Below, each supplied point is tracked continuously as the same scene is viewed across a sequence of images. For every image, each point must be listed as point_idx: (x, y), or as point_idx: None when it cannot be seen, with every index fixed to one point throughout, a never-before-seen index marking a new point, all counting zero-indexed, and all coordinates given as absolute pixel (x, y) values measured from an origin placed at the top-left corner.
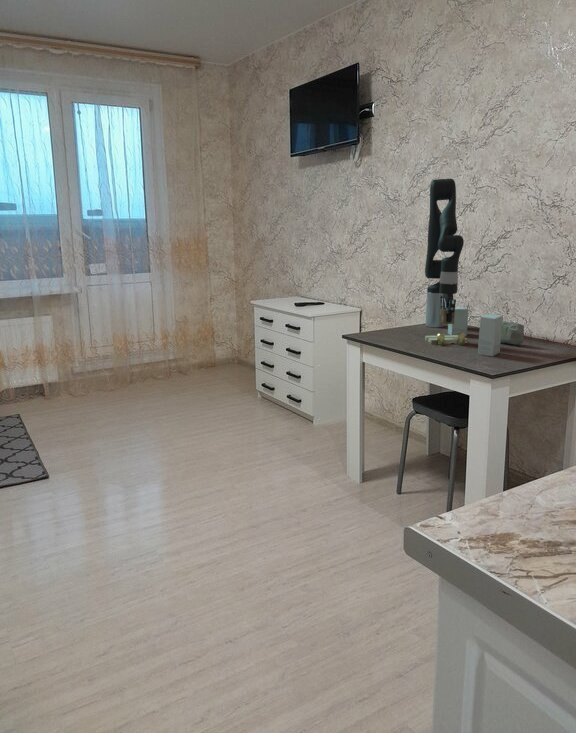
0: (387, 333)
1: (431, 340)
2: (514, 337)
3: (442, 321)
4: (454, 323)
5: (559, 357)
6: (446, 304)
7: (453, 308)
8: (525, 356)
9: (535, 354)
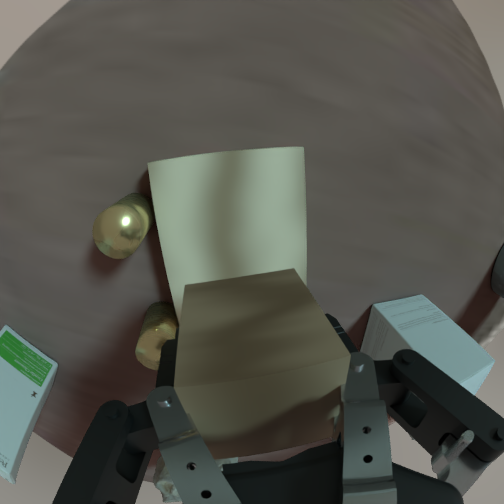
0: (443, 37)
1: (150, 162)
2: (160, 462)
3: (201, 294)
4: (400, 348)
5: (68, 452)
6: (178, 485)
7: (120, 468)
8: (44, 415)
9: (75, 438)
